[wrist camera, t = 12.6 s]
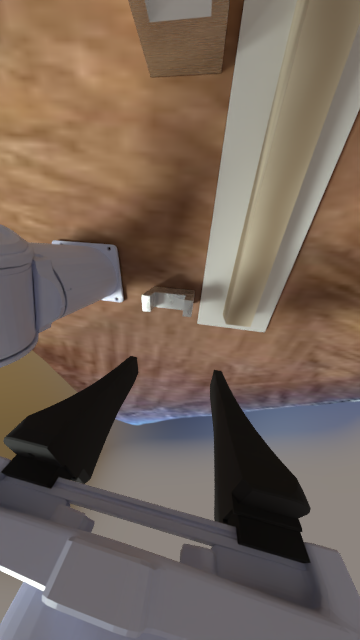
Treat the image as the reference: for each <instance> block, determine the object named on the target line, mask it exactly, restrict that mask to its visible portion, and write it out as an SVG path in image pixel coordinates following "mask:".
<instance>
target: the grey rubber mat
mask: <svg viewBox="0 0 360 640" xmlns="http://www.w3.org/2000/svg"><path fill="white" fill-rule="evenodd" d="M296 2H297V0H244V5H243V12H242V19H241V26H240V33H239V40H238V47H237V54H236V60H235V67H234V74H233V81H232V88H231V95H230V102H229V109H228V115H227V122H226V129H225V136H224V143H223V150H222V157H221V163H220V170H219V177H218V184H217V191H216V198H215V205H214V212H213V218H212V225H211V232H210V239H209V246H208V253H207V260H206V267H205V273H204V280H203V287H202V294H201V301H200V308H199V315H198V322H197V324H204V325H211V326H219V327H227V328H234V329H242V330H250V331H258V332H265V330H266V328H267V325H268V323H269V321H270V318H271V316H272V314H273V311H274V309H275V307H276V304H277V302H278V300H279V297H280V295H281V292H282V290H283V288H284V285H285V283H286V281H287V278H288V276H289V274H290V271H291V269H292V267H293V264H294V262H295V260H296V257H297V255H298V252H299V250H300V248H301V245H302V243H303V241H304V238H305V236H306V234H307V231H308V229H309V227H310V224H311V222H312V220H313V217H314V215H315V212H316V210H317V208H318V205H319V203H320V201H321V198H322V196H323V194H324V191H325V189H326V187H327V184H328V182H329V180H330V177H331V175H332V172H333V170H334V168H335V165H336V163H337V161H338V158H339V156H340V154H341V151H342V149H343V147H344V144H345V142H346V139H347V137H348V135H349V132H350V130H351V128H352V125H353V123H354V121H355V118H356V116H357V114H358V111H359V109H360V24H359V27H358V30H357V33H356V36H355V38H354V41H353V44H352V47H351V49H350V52H349V55H348V58H347V61H346V63H345V66H344V69H343V72H342V74H341V77H340V80H339V83H338V86H337V88H336V91H335V94H334V97H333V99H332V102H331V105H330V108H329V111H328V113H327V116H326V119H325V122H324V124H323V127H322V130H321V133H320V136H319V138H318V141H317V144H316V147H315V149H314V152H313V155H312V158H311V160H310V163H309V166H308V169H307V172H306V174H305V177H304V180H303V183H302V185H301V188H300V191H299V194H298V197H297V199H296V202H295V205H294V208H293V210H292V213H291V216H290V219H289V222H288V224H287V227H286V230H285V233H284V235H283V238H282V241H281V244H280V247H279V249H278V252H277V255H276V258H275V260H274V263H273V266H272V269H271V272H270V274H269V277H268V280H267V283H266V285H265V288H264V291H263V294H262V297H261V299H260V302H259V305H258V308H257V310H256V313H255V316H254V319H253V322H252V324H251V327H244V326H236V325H228V324H226V323H225V320H224V317H223V310H224V306H225V302H226V298H227V294H228V289H229V285H230V281H231V277H232V272H233V268H234V264H235V260H236V256H237V251H238V247H239V243H240V239H241V234H242V230H243V226H244V222H245V218H246V213H247V209H248V205H249V201H250V196H251V192H252V188H253V184H254V180H255V175H256V171H257V167H258V163H259V158H260V154H261V150H262V146H263V142H264V137H265V133H266V129H267V125H268V120H269V116H270V112H271V108H272V104H273V99H274V95H275V91H276V87H277V82H278V78H279V74H280V70H281V66H282V61H283V57H284V53H285V49H286V44H287V40H288V36H289V32H290V28H291V23H292V19H293V15H294V11H295V6H296Z"/></svg>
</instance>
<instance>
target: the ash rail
mask: <svg viewBox="0 0 360 640" xmlns="http://www.w3.org/2000/svg"><path fill="white" fill-rule="evenodd" d="M359 24H360V0H297V2H296V6H295V11H294V15H293V19H292V23H291V28H290V32H289V36H288V40H287V44H286V49H285V53H284V57H283V61H282V66H281V70H280V74H279V78H278V82H277V87H276V91H275V95H274V99H273V104H272V108H271V112H270V116H269V120H268V125H267V129H266V133H265V137H264V142H263V146H262V150H261V154H260V158H259V163H258V167H257V171H256V175H255V180H254V184H253V188H252V192H251V196H250V201H249V205H248V209H247V213H246V218H245V222H244V226H243V230H242V234H241V239H240V243H239V247H238V251H237V256H236V260H235V264H234V268H233V272H232V277H231V281H230V285H229V289H228V294H227V298H226V302H225V306H224V310H223V317H224V320H225V323H226V324H228V325H236V326H244V327H251V324H252V322H253V319H254V316H255V313H256V310H257V308H258V305H259V302H260V299H261V297H262V294H263V291H264V288H265V285H266V283H267V280H268V277H269V274H270V272H271V269H272V266H273V263H274V260H275V258H276V255H277V252H278V249H279V247H280V244H281V241H282V238H283V235H284V233H285V230H286V227H287V224H288V222H289V219H290V216H291V213H292V210H293V208H294V205H295V202H296V199H297V197H298V194H299V191H300V188H301V185H302V183H303V180H304V177H305V174H306V172H307V169H308V166H309V163H310V160H311V158H312V155H313V152H314V149H315V147H316V144H317V141H318V138H319V136H320V133H321V130H322V127H323V124H324V122H325V119H326V116H327V113H328V111H329V108H330V105H331V102H332V99H333V97H334V94H335V91H336V88H337V86H338V83H339V80H340V77H341V74H342V72H343V69H344V66H345V63H346V61H347V58H348V55H349V52H350V49H351V47H352V44H353V41H354V38H355V36H356V33H357V30H358V27H359Z"/></svg>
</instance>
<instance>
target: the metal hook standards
mask: <svg viewBox="0 0 360 640" xmlns="http://www.w3.org/2000/svg"><path fill="white" fill-rule="evenodd" d="M128 1H129V5H130V8H131V12H132V15H133V19H134V22H135V25H136V29H137V32H138V36H139V39H140V43H141V46H142V49H143V53H144V56H145V60H146V63H147V67H148V70H149V74H150V77H160V76H178V75H195V74H213V73H221V71H222V62H223V54H224V46H225V38H226V29H227V21H228V11H229V2H230V0H128ZM194 294H195V290H186V289H177V288H167V287H157V286H154V287H153V288H151V289H150V290H148V291H147V292H145V293H144V294H143V295H142V310H143V311H147V312H151V311H152V310H153V308H154V307H161V308H169V309H178V310H183V316H187V317H191V315H192V309H193V302H194Z"/></svg>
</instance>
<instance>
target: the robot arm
mask: <svg viewBox="0 0 360 640" xmlns="http://www.w3.org/2000/svg"><path fill="white" fill-rule="evenodd" d="M109 247H110V248H111V250H109ZM117 298H118V300H117ZM99 300H105V301H113V302H123V301H124V296H123V288H122V281H121V273H120V265H119V258H118V250H117V247H116V246H115V245H109V244H96V243H83V242H69V241H56V240H54V241H52V244H45V243H29V242H27V241H26V240H24V239H23V238H21V237H20V236H19V235H18V234H16V233H15V232H14V231H12V230H10V229H9V228H7V227H5V226H3V225H1V224H0V367H3V366H6V365H8V364H11V363H13V362H15V361H17V360H19V359H20V358H22V357H24V356H25V355H27V354H28V353H29V352H30V351H31V350H32V349H33V348H34V347H35V346H36V344H37V342H38V333H40V332H42V331H44V330H46V329H48V328H50V327H51V324H52V322H54V321H55V320H58V319H60V318H62V317H64V316H66V315H69V314H71V313H73V312H75V311H77V310H79V309H82V308H84V307H86V306H88V305H90V304H93V303H95V302H97V301H99ZM137 375H138V364H137V357H133V356H130V357H129V358H127V359H126V360H125V361H124V362H122V363H121V364H120V365H119V366H117V367H116V368H115V369H114V370H112V371H111V372H110V373H108V374H107V375H105V376H104V377H103V378H101V379H100V380H98V381H97V382H95V383H94V384H92V385H90V386H89V387H87V388H85V389H84V390H82V391H80V392H78V393H76V394H75V395H73V396H71V397H69V398H67V399H65V400H63V401H61V402H59V403H57V404H55V405H52V406H50V407H48V408H46V409H44V410H41V411H39V412H36V413H34V414H32V415H29V416H28V417H26V418H25V419H24V420H23V421H22V422H21V423H20V424H19V425H18V426H17V427H16V428H15V429H14V430H12V431H11V432H10V433H9V434H8V435H7V436H6V437H5V438H4V443H5V444H6V446H8V447H9V448H10V449H11V450H12V451H13V452H14V453H16V454H17V455H16V456H15V457H14V458H13V459H12V460H9V459H7V458H4V457H0V570H1V571H3V572H5V573H7V574H9V575H11V576H13V577H15V578H18V579H19V580H22V581H23V583H22V585H21V587H20V589H19V591H18V592H17V594H16V596H15V598H14V600H13V602H12V603H11V605H10V607H9V609H8V611H7V613H6V615H5V616H4V618H3V620H2V622H1V623H0V640H360V596H359V594H358V592H357V590H356V588H355V585H354V583H353V581H352V579H351V577H350V575H349V573H348V570H347V568H346V566H345V564H344V561H343V559H342V557H341V555H340V553H339V552H338V551H337V550H334V549H330V548H327V547H323V546H320V545H316V544H312V543H306V542H303V539H302V536H301V533H300V532H302V527H301V525H300V522H299V519H298V518H300V517H303V516H305V515H307V514H308V513H309V512H310V506H309V504H308V501H307V499H306V496H305V494H304V492H303V490H302V488H301V486H300V484H299V482H298V480H297V478H296V477H295V476H294V475H293V474H292V473H291V472H290V471H289V469H288V468H287V467H286V466H285V465H284V464H283V463H282V462H281V461H280V459H278V457H277V456H276V455H275V454H274V452H273V451H272V450H271V449H270V448H269V446H268V445H267V444H266V443H265V441H264V440H263V439H262V438H261V436H260V435H259V434H258V432H257V431H256V430H255V428H254V427H253V426H252V424H251V423H250V421H249V420H248V418H247V417H246V416H245V414H244V412H243V411H242V409H241V408H240V406H239V404H238V403H237V401H236V399H235V398H234V396H233V394H232V392H231V390H230V388H229V386H228V384H227V382H226V380H225V378H224V376H223V373H222V372H221V371H217V370H214V372H213V376H212V380H211V384H210V401H211V410H212V419H213V430H214V459H215V460H214V464H215V465H214V467H215V508H214V516H215V517H214V519H215V521H212V520H209V519H205V518H202V517H198V516H195V515H191V514H187V513H184V512H180V511H177V510H173V509H170V508H166V507H163V506H159V505H156V504H152V503H149V502H145V501H141V500H138V499H134V498H131V497H127V496H124V495H120V494H116V493H113V492H110V491H106V490H103V489H99V488H95V487H92V486H88V485H85V483H86V482H87V481H89V480H90V479H91V476H92V474H93V471H94V468H95V466H96V463H97V460H98V458H99V455H100V453H101V450H102V448H103V445H104V443H105V441H106V438H107V436H108V433H109V431H110V429H111V426H112V424H113V422H114V420H115V418H116V415H117V413H118V411H119V409H120V407H121V406H122V404H123V402H124V400H125V398H126V397H127V395H128V393H129V391H130V389H131V388H132V386H133V384H134V382H135V380H136V377H137ZM71 480H72V481H71ZM74 481H75V482H74ZM78 482H79V483H78ZM81 483H82V484H81ZM70 503H71V504H74V505H77V506H81V507H84V508H87V509H90V510H94V511H97V512H100V513H104V514H107V515H110V516H114V517H117V518H120V519H123V520H127V521H130V522H134V523H137V524H140V525H143V526H147V527H150V528H153V529H157V530H160V531H163V532H166V533H170V534H173V535H176V536H180V537H183V538H186V539H190V540H193V541H196V542H200V543H203V544H206V545H209V546H213V547H212V548H211V549H208V548H204V547H200V546H195V545H189V544H183V547H182V549H181V553H180V562H177V561H174V560H172V559H168V558H166V557H163V556H160V555H157V554H154V553H152V552H149V551H146V550H143V549H140V548H137V547H134V546H131V545H128V544H125V543H122V542H119V541H116V540H113V539H110V538H106V537H103V536H100V535H97V534H93V533H91V531H92V529H93V526H94V521H93V520H91V519H89V518H88V517H87V516H86V515H85V513H82V512H80V511H78V510H75V509H73V508H70Z"/></svg>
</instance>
